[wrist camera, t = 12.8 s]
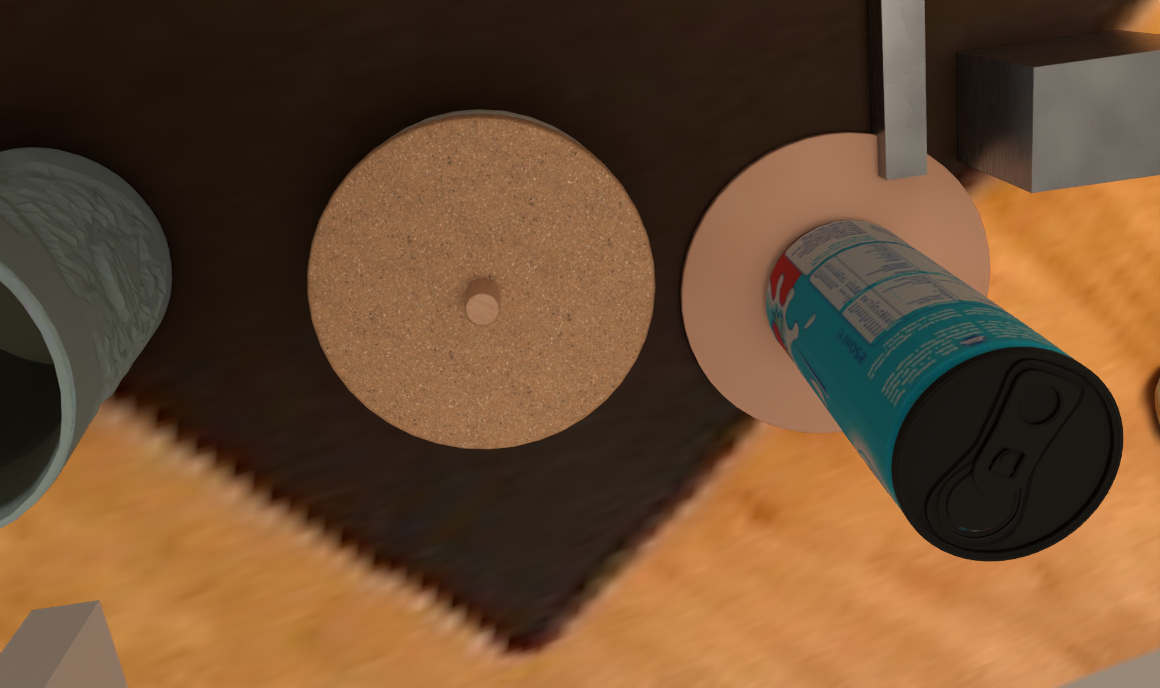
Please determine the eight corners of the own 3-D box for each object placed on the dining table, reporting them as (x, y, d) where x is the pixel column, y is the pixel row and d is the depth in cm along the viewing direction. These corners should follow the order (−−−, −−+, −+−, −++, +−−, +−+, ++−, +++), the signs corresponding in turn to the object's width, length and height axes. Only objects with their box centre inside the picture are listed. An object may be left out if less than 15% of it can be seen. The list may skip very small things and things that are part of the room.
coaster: (665, 155, 40) (667, 157, 39) (983, 110, 40) (990, 112, 39) (694, 446, 44) (697, 452, 43) (983, 404, 44) (989, 410, 43)
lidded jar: (551, 408, 43) (564, 524, 34) (297, 297, 41) (240, 390, 32) (678, 168, 40) (728, 226, 31) (412, 34, 38) (385, 56, 29)
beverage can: (730, 314, 41) (848, 497, 27) (822, 185, 40) (997, 307, 26) (850, 388, 43) (1021, 598, 29) (943, 266, 41) (1172, 424, 27)
